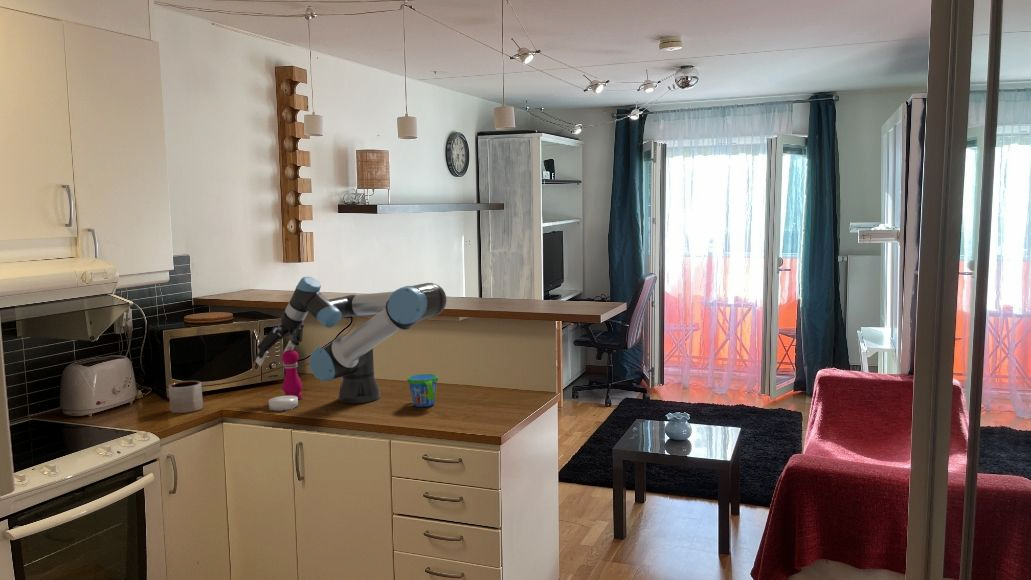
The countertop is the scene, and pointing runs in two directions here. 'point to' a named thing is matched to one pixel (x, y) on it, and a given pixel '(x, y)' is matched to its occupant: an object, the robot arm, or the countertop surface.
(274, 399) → the ceramic stand
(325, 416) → the countertop surface
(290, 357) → the pepper mill
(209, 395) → the countertop surface
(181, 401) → the planter
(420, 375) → the snack cup
